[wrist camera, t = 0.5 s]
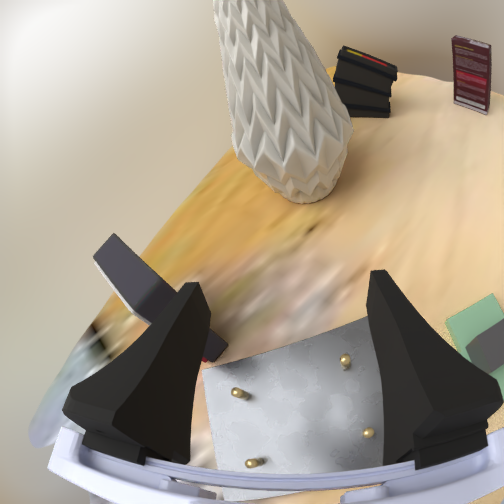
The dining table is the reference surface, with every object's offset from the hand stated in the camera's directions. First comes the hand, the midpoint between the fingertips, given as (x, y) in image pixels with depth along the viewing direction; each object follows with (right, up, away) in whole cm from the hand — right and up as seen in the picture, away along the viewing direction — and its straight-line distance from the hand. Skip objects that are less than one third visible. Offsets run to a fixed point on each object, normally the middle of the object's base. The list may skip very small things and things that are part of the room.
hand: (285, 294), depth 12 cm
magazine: (+22, +29, +40) cm, 54 cm away
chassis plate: (+4, -15, +14) cm, 21 cm away
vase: (+7, +12, +33) cm, 36 cm away
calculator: (-9, -8, +25) cm, 27 cm away
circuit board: (+24, -9, +10) cm, 27 cm away
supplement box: (+47, +34, +32) cm, 66 cm away
